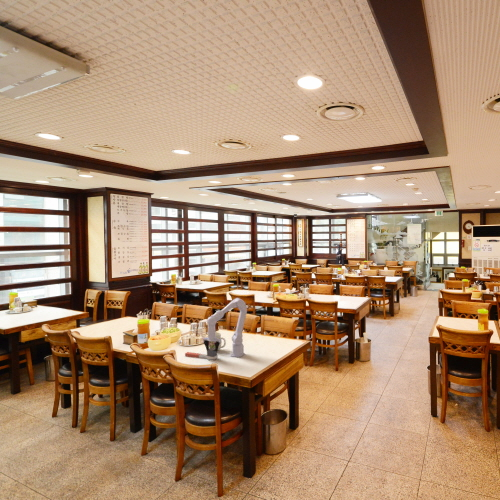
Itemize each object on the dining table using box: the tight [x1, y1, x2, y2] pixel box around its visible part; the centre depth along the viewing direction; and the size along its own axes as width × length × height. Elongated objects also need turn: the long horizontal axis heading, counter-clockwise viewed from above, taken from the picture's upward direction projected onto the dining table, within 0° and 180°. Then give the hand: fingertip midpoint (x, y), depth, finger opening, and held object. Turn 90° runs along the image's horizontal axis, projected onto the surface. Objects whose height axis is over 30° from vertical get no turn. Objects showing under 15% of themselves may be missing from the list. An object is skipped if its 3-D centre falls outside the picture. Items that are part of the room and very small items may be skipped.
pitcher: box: [205, 331, 227, 352], centre depth 281 cm, size 11×18×14 cm, turn 66°
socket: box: [206, 348, 218, 357], centre depth 261 cm, size 6×6×5 cm
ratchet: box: [184, 351, 218, 361], centre depth 264 cm, size 27×8×6 cm, turn 67°
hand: (212, 350), depth 261 cm, fingers open, 7 cm apart
